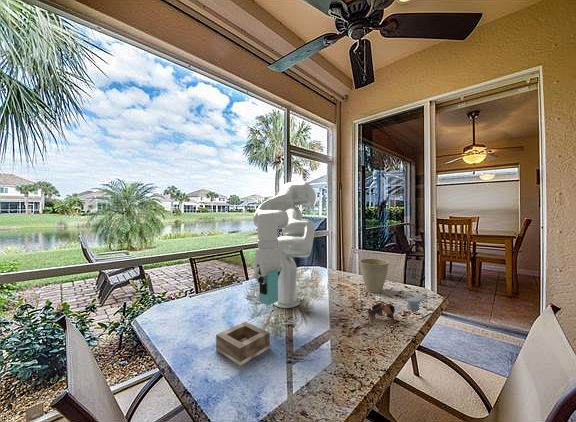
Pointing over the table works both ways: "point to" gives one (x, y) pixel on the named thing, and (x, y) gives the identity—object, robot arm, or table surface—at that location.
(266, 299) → the teal block
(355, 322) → the table surface
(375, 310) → the brown toy animal
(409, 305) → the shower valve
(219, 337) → the walnut well
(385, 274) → the plant pot
